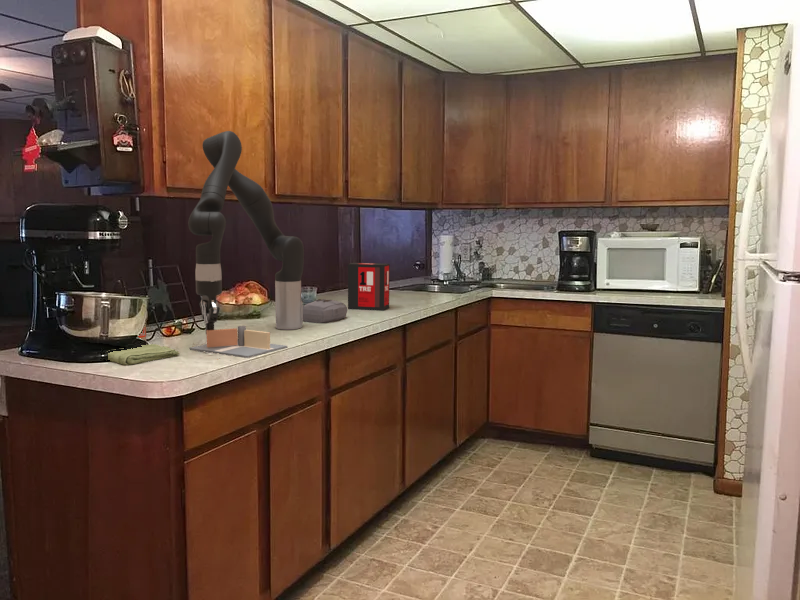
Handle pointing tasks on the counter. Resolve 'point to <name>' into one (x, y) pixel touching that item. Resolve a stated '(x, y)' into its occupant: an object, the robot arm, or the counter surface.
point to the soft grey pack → (324, 311)
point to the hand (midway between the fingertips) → (210, 334)
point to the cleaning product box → (368, 286)
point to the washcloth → (141, 354)
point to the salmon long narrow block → (222, 337)
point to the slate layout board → (245, 344)
